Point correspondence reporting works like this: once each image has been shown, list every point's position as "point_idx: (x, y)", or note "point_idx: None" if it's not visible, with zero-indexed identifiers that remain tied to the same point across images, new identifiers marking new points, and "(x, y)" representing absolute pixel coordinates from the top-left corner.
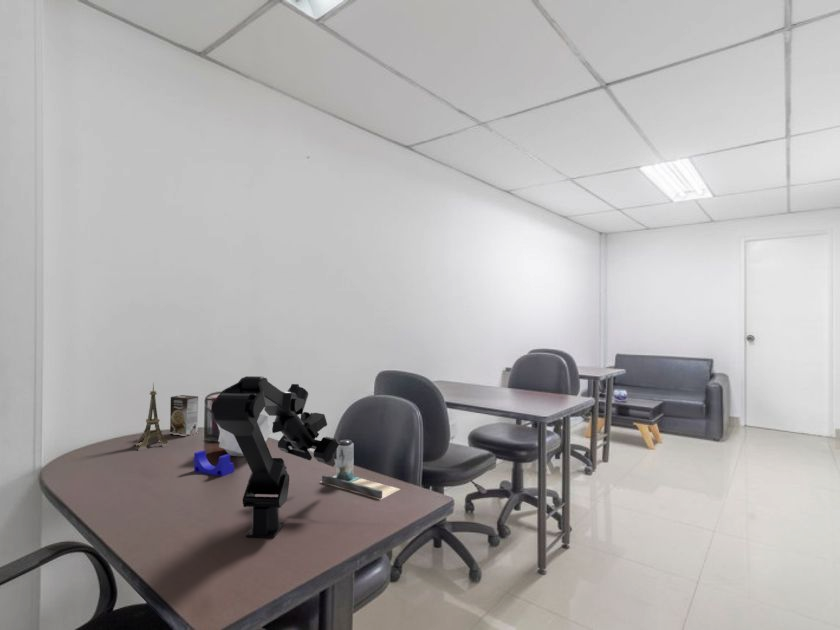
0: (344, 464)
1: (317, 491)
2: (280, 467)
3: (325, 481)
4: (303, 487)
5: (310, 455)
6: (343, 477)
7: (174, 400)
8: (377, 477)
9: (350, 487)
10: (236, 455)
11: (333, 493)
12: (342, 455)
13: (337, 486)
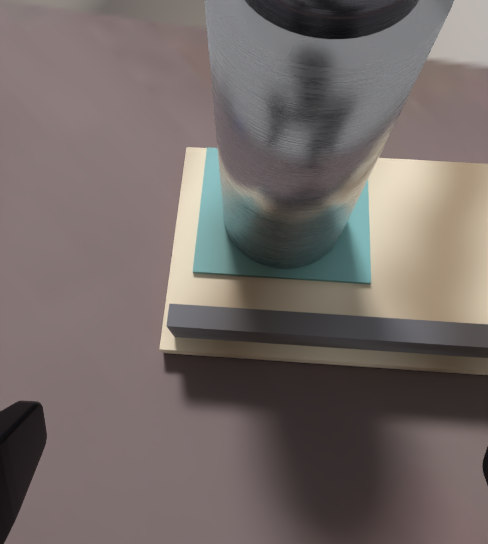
0: (350, 195)
1: (241, 469)
2: None
3: (210, 338)
4: (86, 462)
5: (14, 436)
6: (322, 250)
7: None
8: None
9: (484, 354)
10: None
11: (373, 434)
12: (352, 148)
13: (343, 352)
